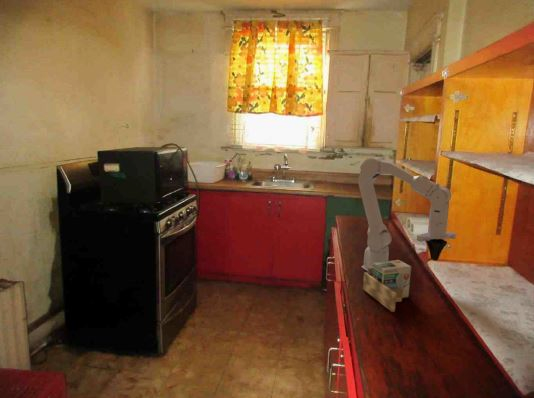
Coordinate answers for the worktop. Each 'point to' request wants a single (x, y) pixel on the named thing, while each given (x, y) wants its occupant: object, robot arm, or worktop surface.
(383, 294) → the shelf slot
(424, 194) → the robot arm
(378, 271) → the light bulb box
